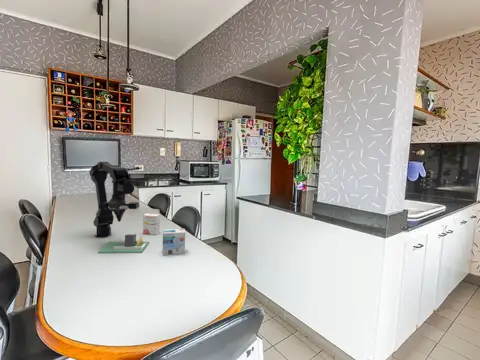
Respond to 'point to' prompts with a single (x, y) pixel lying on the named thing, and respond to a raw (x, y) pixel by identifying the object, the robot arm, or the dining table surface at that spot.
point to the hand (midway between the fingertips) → (119, 221)
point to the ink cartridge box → (151, 222)
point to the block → (130, 240)
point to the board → (119, 247)
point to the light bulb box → (173, 241)
